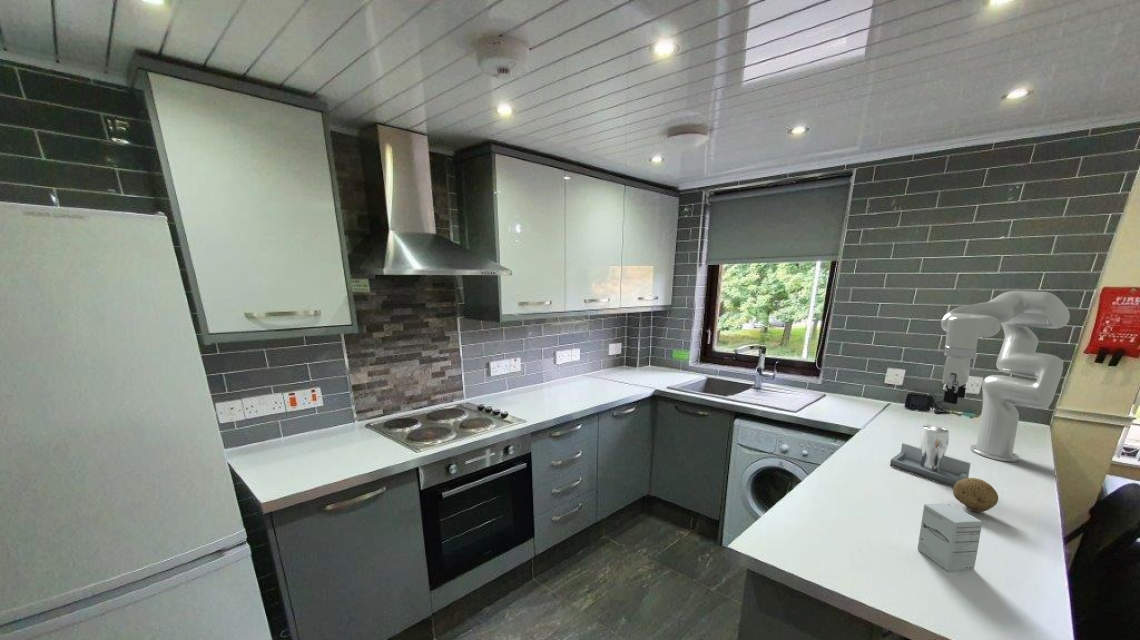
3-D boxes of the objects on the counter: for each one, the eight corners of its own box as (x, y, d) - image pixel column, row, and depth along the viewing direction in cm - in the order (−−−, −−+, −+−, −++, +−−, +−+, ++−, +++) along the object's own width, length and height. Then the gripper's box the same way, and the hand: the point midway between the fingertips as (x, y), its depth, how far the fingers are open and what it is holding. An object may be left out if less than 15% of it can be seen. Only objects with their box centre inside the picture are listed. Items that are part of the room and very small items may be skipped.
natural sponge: (981, 523, 106) (986, 489, 105) (943, 504, 114) (947, 473, 113) (1002, 518, 108) (1007, 485, 107) (963, 500, 117) (968, 469, 116)
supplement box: (915, 549, 95) (922, 503, 94) (942, 548, 96) (949, 501, 94) (947, 572, 88) (954, 522, 86) (976, 571, 88) (984, 521, 87)
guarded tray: (901, 457, 144) (903, 442, 143) (968, 478, 129) (970, 462, 129) (890, 465, 138) (892, 450, 137) (959, 489, 123) (961, 472, 122)
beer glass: (949, 475, 130) (955, 433, 128) (925, 472, 131) (931, 431, 129) (934, 465, 136) (940, 425, 135) (912, 463, 138) (917, 423, 136)
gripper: (951, 347, 137) (946, 392, 139) (937, 353, 128) (931, 402, 130) (981, 350, 131) (975, 397, 133) (969, 357, 121) (962, 408, 124)
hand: (954, 400), depth 132 cm, fingers open, 9 cm apart
